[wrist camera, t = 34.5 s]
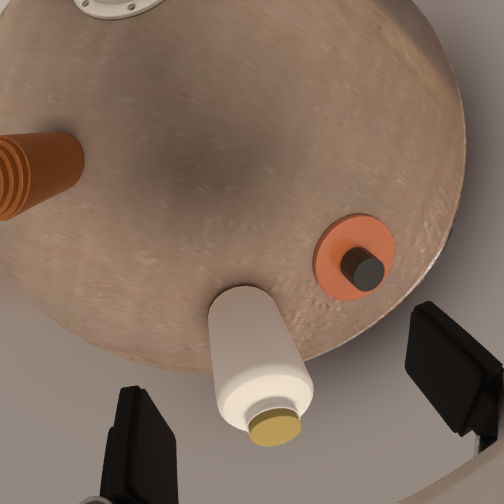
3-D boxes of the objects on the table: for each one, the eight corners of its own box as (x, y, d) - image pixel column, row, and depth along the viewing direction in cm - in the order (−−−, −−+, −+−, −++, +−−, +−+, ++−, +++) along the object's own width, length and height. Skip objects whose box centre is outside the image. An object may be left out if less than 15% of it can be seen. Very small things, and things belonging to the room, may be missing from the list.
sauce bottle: (56, 120, 26) (-61, 121, 9) (95, 156, 28) (-7, 186, 11) (25, 167, 27) (-91, 208, 10) (62, 203, 29) (-41, 272, 12)
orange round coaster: (362, 195, 35) (366, 196, 34) (403, 255, 39) (407, 258, 38) (294, 259, 36) (297, 262, 35) (344, 312, 40) (347, 315, 39)
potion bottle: (206, 341, 38) (220, 463, 22) (208, 282, 35) (222, 401, 19) (271, 340, 40) (315, 452, 23) (279, 282, 37) (339, 389, 20)
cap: (343, 283, 38) (356, 297, 34) (336, 254, 36) (350, 267, 33) (372, 270, 38) (386, 282, 34) (366, 241, 36) (382, 252, 33)
